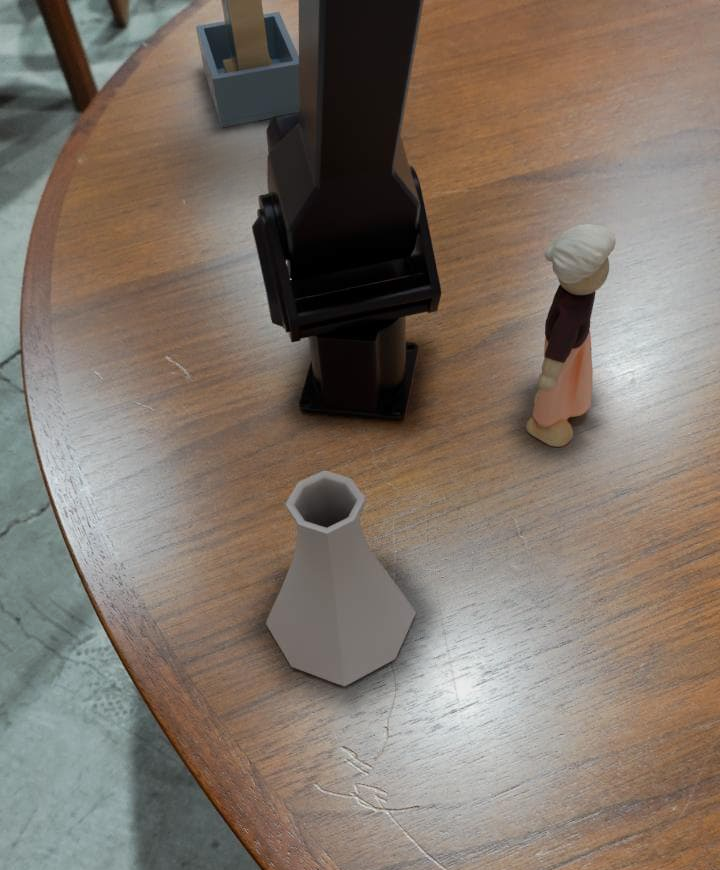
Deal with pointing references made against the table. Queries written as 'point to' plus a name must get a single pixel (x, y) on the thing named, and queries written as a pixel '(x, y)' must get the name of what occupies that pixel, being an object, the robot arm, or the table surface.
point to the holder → (251, 75)
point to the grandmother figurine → (570, 331)
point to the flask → (336, 588)
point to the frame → (245, 35)
